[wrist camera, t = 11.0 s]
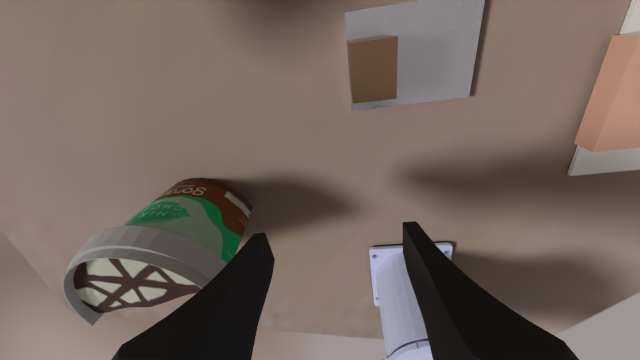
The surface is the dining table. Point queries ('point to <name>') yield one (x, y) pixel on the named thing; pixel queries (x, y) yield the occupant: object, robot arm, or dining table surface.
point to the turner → (412, 52)
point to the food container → (158, 250)
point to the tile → (614, 99)
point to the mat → (611, 160)
